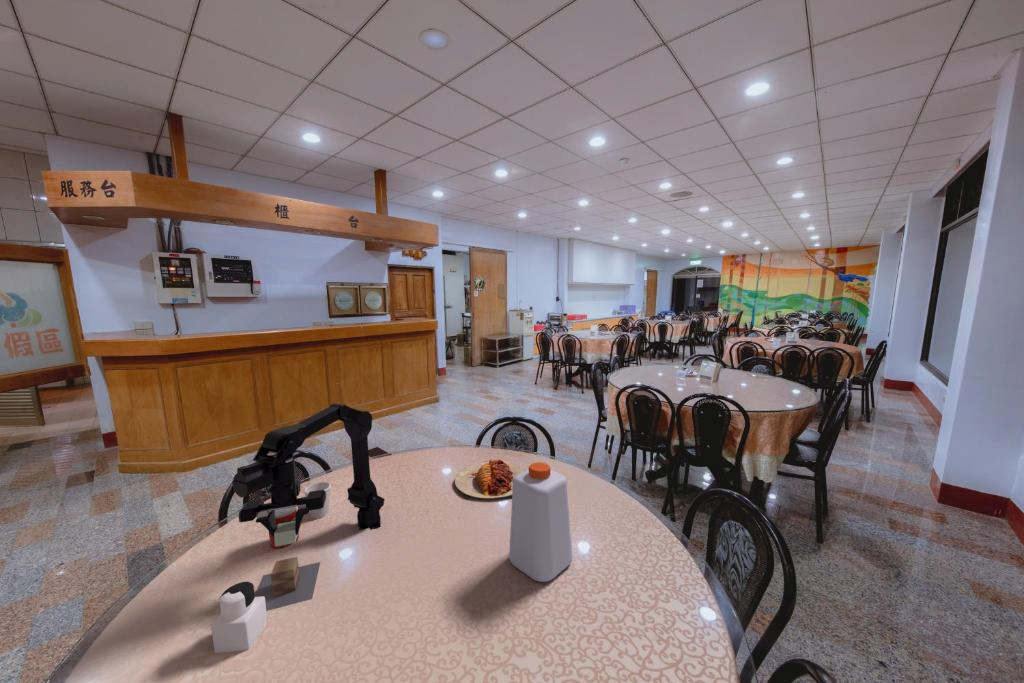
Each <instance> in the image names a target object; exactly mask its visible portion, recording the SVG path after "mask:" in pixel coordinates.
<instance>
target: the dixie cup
mask: <svg viewBox="0 0 1024 683" xmlns="http://www.w3.org/2000/svg"><path fill="white" fill-rule="evenodd" d="M331 486H332V485H331V483H330V482H328V481H318V482H314V483H312V484H310V485H308V486H306V487H305V488H304V490H303V494H304V497H305V496H308V494H309V492H311V491H317V490H324V491H325V492H326V500H325V503H324V507H323V508H321V509H317V510H311V511H309V516H310V518H311V519H313V520H317V519H322V518H324V517H326V516H327V515H328V514H329V513H330V512H329V510H330V509H329V508H330V492H331Z"/></svg>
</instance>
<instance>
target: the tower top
mask: <svg viewBox="0 0 1024 683" xmlns="http://www.w3.org/2000/svg"><path fill="white" fill-rule="evenodd" d="M298 567H299V559H298V556H294V557H290V558H286V559H281V560H276V561H275V562H274V565H273V568H272V570H271V573H270V574H271V582H272V585H276V584H280V583H284V582H288V581H292V580H295V577H296V573H297V570H298Z"/></svg>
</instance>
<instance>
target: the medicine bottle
mask: <svg viewBox="0 0 1024 683" xmlns="http://www.w3.org/2000/svg"><path fill="white" fill-rule="evenodd" d="M255 594H256V592H255V586H254V583H253V582H250V581H241V582H238V583H235V584H233V585H230V587H228V588H227V589H225V590H224V591H223V592H222V594H221V595H220V597H219V607H220V613H219V615H218V616H217V617H216V619H215V620H214V621H213V623H212V624H211V626H210V627H211V636H212V642H213V643H212V644H213V650H214V652H213V653H214V654H221V653H230V652H233V653H234V652H242V651H243V652H244V651H249V650H250V649H251V648H252V646H253V645H254V643H255V641H257V639H258V637H259V636H260V634H261V633H262V631H263V629H264V628H265V626H266V625H267V624H268V614H267V611H266V603H265V597H264V596H262V597H255Z"/></svg>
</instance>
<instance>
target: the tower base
mask: <svg viewBox="0 0 1024 683" xmlns="http://www.w3.org/2000/svg"><path fill="white" fill-rule="evenodd" d="M299 567H300V566H298V570H297V573H296V577H295V580H292V581H288V582H284V583H280V584H276V585H272V592H273V596H277V595H281V594H285V593H289V592H293V591H296V587H297V584H298V580H299Z"/></svg>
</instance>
